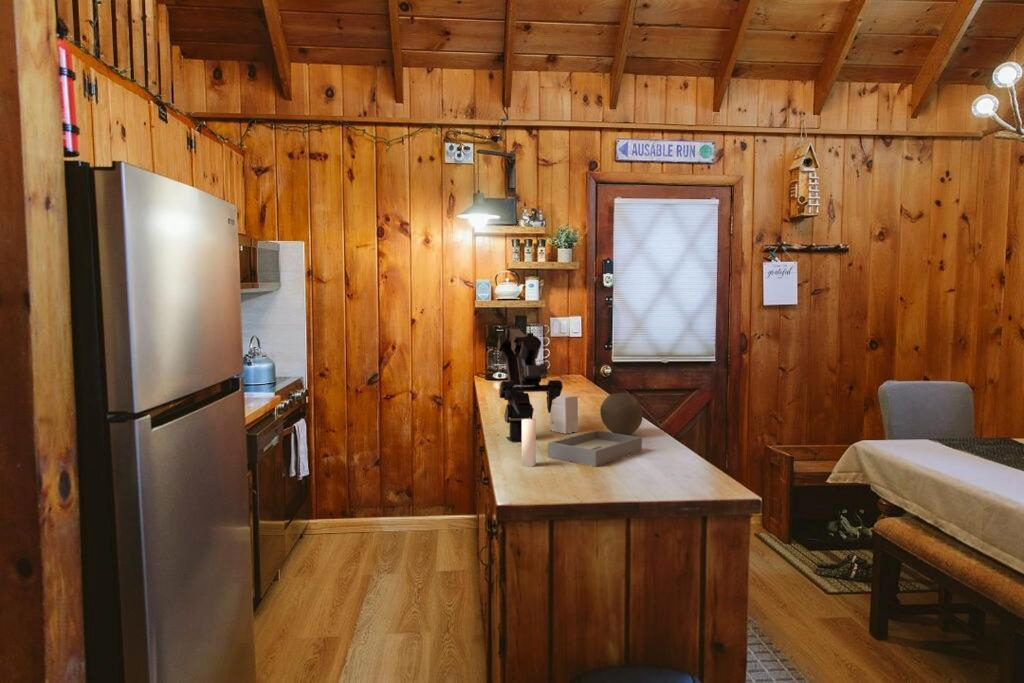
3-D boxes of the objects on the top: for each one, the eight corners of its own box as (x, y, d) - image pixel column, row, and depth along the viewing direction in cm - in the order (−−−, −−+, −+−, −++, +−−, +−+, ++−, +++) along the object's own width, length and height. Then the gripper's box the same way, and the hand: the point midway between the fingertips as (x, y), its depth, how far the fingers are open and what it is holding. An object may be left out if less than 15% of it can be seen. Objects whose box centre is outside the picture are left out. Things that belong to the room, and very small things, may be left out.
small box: (578, 432, 233) (578, 395, 232) (565, 434, 229) (565, 397, 228) (562, 428, 239) (562, 393, 238) (549, 431, 235) (549, 395, 234)
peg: (519, 464, 188) (519, 419, 187) (532, 462, 189) (532, 418, 188) (524, 467, 184) (524, 421, 183) (537, 466, 185) (537, 420, 184)
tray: (548, 457, 195) (548, 442, 195) (596, 443, 214) (596, 430, 214) (595, 466, 184) (595, 451, 184) (641, 451, 203) (641, 437, 202)
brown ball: (609, 430, 236) (610, 389, 235) (647, 434, 229) (648, 391, 228) (594, 437, 224) (594, 393, 223) (633, 441, 217) (633, 397, 216)
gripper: (500, 354, 195) (506, 398, 185) (561, 353, 198) (570, 397, 188) (496, 376, 204) (501, 419, 194) (555, 374, 207) (563, 417, 197)
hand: (534, 412), depth 193 cm, fingers open, 9 cm apart
